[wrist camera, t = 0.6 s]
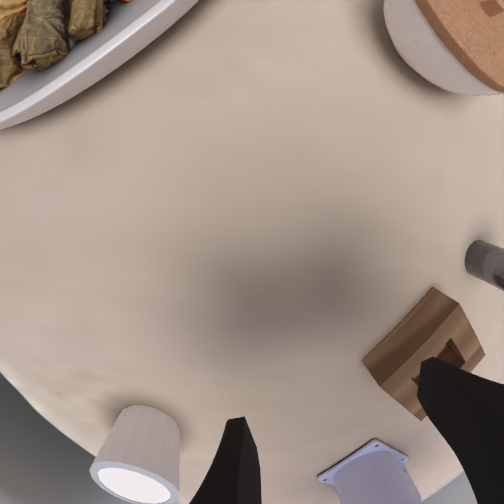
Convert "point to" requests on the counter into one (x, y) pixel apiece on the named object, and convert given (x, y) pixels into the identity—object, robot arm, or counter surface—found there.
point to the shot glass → (140, 457)
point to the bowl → (70, 47)
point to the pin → (486, 263)
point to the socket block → (423, 348)
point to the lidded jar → (451, 42)
